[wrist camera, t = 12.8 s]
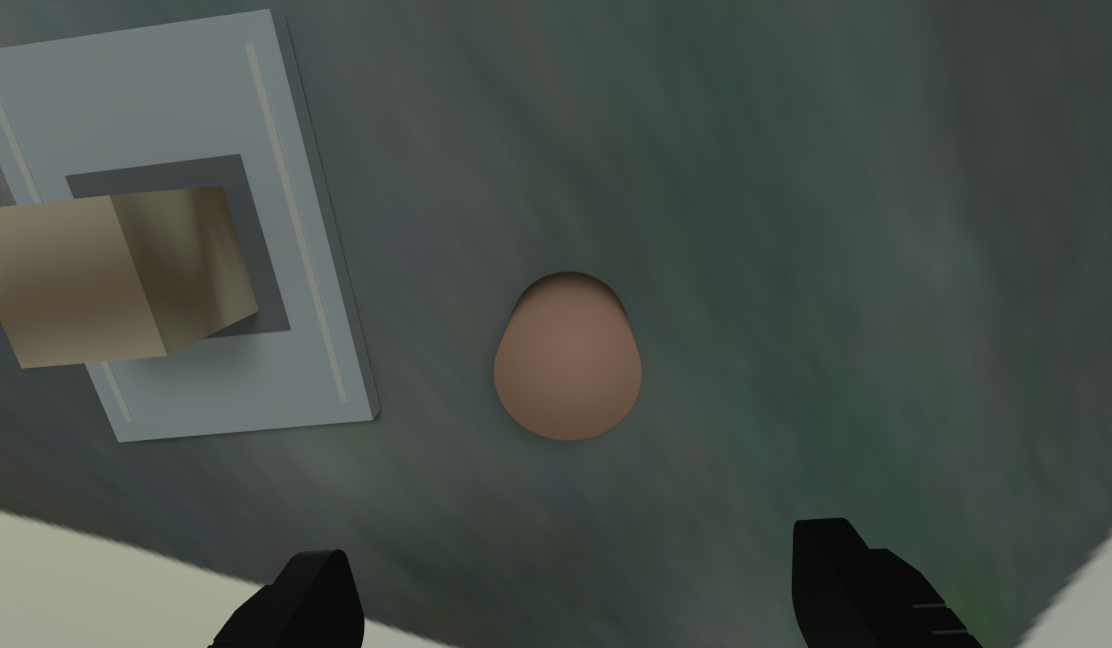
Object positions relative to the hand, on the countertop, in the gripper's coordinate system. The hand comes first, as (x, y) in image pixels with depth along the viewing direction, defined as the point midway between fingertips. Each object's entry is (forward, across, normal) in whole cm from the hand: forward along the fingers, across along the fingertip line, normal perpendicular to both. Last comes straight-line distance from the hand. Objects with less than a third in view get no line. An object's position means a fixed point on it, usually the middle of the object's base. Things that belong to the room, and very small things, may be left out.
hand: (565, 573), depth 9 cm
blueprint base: (+13, +15, -5) cm, 21 cm away
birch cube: (+12, +15, -5) cm, 20 cm away
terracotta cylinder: (+14, 0, 0) cm, 14 cm away
